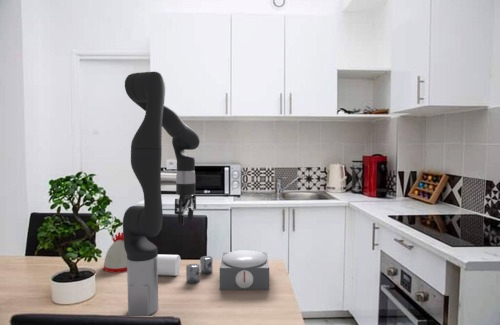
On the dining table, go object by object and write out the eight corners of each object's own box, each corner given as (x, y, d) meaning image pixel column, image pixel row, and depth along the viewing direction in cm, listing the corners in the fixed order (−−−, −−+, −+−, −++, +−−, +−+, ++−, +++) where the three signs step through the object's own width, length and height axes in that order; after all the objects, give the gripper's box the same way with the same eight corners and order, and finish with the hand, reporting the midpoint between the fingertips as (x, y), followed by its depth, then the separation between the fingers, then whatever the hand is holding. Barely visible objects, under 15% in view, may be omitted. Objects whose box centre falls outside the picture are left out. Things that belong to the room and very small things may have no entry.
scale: (269, 290, 118) (269, 266, 117) (219, 290, 118) (219, 266, 117) (266, 271, 135) (266, 250, 135) (223, 271, 135) (223, 250, 135)
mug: (174, 278, 128) (174, 258, 128) (150, 277, 129) (150, 258, 129) (183, 267, 140) (183, 249, 140) (161, 266, 141) (161, 248, 141)
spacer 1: (198, 284, 123) (198, 268, 123) (185, 284, 123) (185, 268, 123) (200, 278, 128) (200, 263, 128) (187, 278, 128) (187, 263, 128)
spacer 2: (211, 274, 132) (211, 260, 132) (199, 274, 132) (199, 260, 132) (213, 270, 137) (213, 256, 137) (201, 270, 137) (201, 256, 137)
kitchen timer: (126, 273, 134) (125, 237, 133) (96, 271, 136) (96, 235, 136) (144, 262, 147) (143, 229, 147) (116, 259, 150) (116, 227, 149)
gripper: (186, 184, 122) (186, 227, 122) (201, 181, 136) (201, 219, 136) (168, 183, 124) (168, 225, 124) (185, 180, 138) (185, 218, 138)
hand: (185, 222), depth 130 cm, fingers open, 8 cm apart
